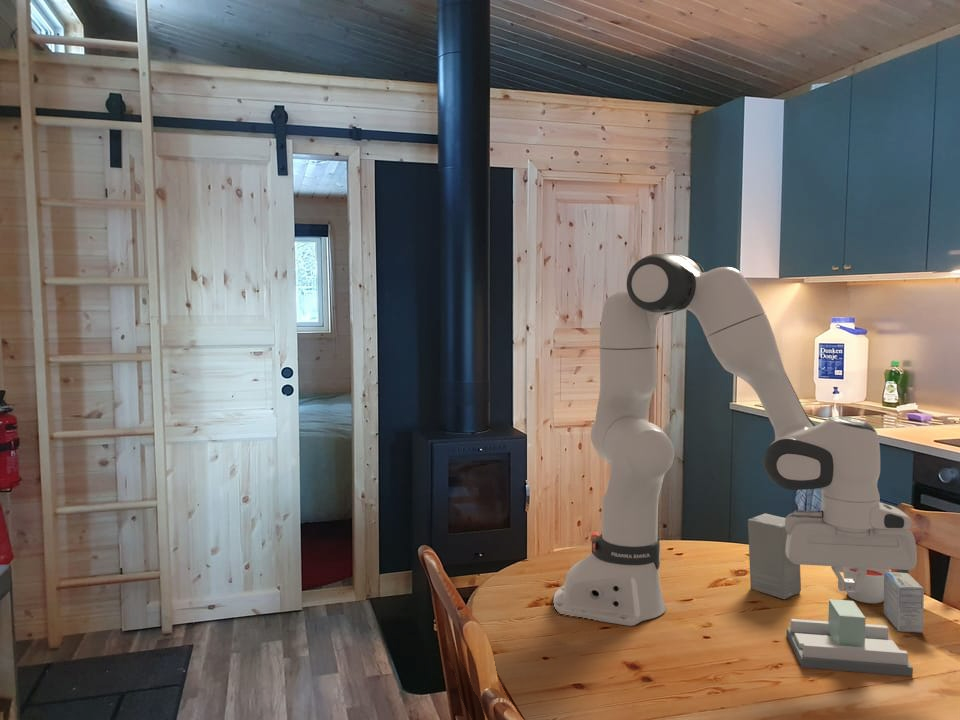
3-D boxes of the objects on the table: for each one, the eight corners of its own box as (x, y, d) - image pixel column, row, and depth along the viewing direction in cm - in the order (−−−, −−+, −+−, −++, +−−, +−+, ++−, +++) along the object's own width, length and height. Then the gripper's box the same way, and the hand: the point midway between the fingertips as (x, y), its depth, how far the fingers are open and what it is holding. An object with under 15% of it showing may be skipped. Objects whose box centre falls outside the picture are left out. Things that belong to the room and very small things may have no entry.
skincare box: (801, 593, 152) (803, 520, 151) (781, 602, 148) (783, 526, 147) (765, 581, 159) (767, 510, 158) (745, 588, 155) (746, 516, 154)
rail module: (839, 650, 123) (839, 615, 123) (828, 631, 130) (828, 599, 129) (864, 652, 122) (865, 617, 122) (852, 633, 129) (853, 600, 129)
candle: (865, 586, 156) (865, 557, 155) (900, 602, 147) (901, 572, 147) (831, 592, 153) (832, 562, 153) (865, 609, 145) (866, 578, 144)
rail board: (801, 667, 122) (802, 647, 122) (786, 635, 134) (787, 616, 133) (912, 676, 119) (913, 655, 118) (887, 642, 130) (887, 623, 130)
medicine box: (923, 633, 134) (925, 588, 133) (897, 632, 134) (898, 586, 134) (907, 615, 141) (908, 572, 141) (882, 614, 142) (883, 571, 142)
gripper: (789, 515, 123) (788, 593, 124) (921, 519, 119) (919, 601, 120) (781, 504, 129) (780, 580, 130) (907, 509, 125) (905, 586, 126)
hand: (848, 590), depth 125 cm, fingers closed
